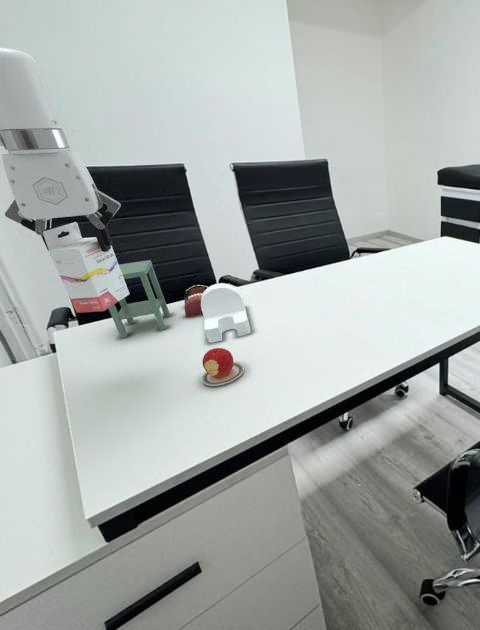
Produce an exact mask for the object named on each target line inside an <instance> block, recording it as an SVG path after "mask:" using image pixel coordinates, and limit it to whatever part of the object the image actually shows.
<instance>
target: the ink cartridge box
mask: <svg viewBox="0 0 480 630" xmlns="http://www.w3.org/2000/svg"><path fill="white" fill-rule="evenodd" d="M63 232H64V233H67V232H68V234H67V235H65V236H61V237H59V235H61V234H62V233H63ZM43 235H44V238H45V241H46V244H47V246H48V249H49V251H48V254H49V255H50V257H51V260H52V263H53V264H54V266H55V269H56V271H57V273H58V275H59V278H60V279H61V282H62V284H63V286H64V288H65V290H66V293H67V295H68V297H69V299H70V302H71V304H72V305H73V308H74V310H75V312H76V313H77V314H81V313H93V312H105V311H106V310H109V309H108V308H109V307H111V306H112V305H114V304H117V303H119V301H120V300H121V299H123V298H126V297H128V296H129V295H130V291H129V288H128V286H127V283H126V279H124V277H123V275H122V272H121V270H120V267H119V265H120V264H119V262H118V258H117V257H116V254H115V251H114V249H113V245H111V249H110V250H109V251H108V252H103V251H102V250H101V248H100V245H99V243H98V240H97V238H96V236H94V237H83V236H82V233H81V230H80V227H79V223H78V222H76V221H74V222H71V223H67V224H63V225H60V226H56V227H54V228H51V230H47V231H44V232H43ZM58 237H59V238H58Z"/></svg>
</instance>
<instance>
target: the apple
mask: <svg viewBox="0 0 480 630" xmlns="http://www.w3.org/2000/svg"><path fill="white" fill-rule="evenodd" d="M201 362H202V367H203V369H204V371H205V372H204V373H203V375H201V382H202V384H204V385H205V386H210V387H215V386H216V387H217V386H222V385H226V384H229V383H231V382H234V381H235V380H237V379H238V378H240V377H241V376H242V375H243V374H244V371H245V368H244V365H242V364H241V363H240V362H239V363H238V362H235V361H234V357H233V355H232V353H231V351H229V350H228V349H226V348H222V347H216V348H212V349H209V350H207V351H206V352H205V353H204V355H203V357H202V361H201Z"/></svg>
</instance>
